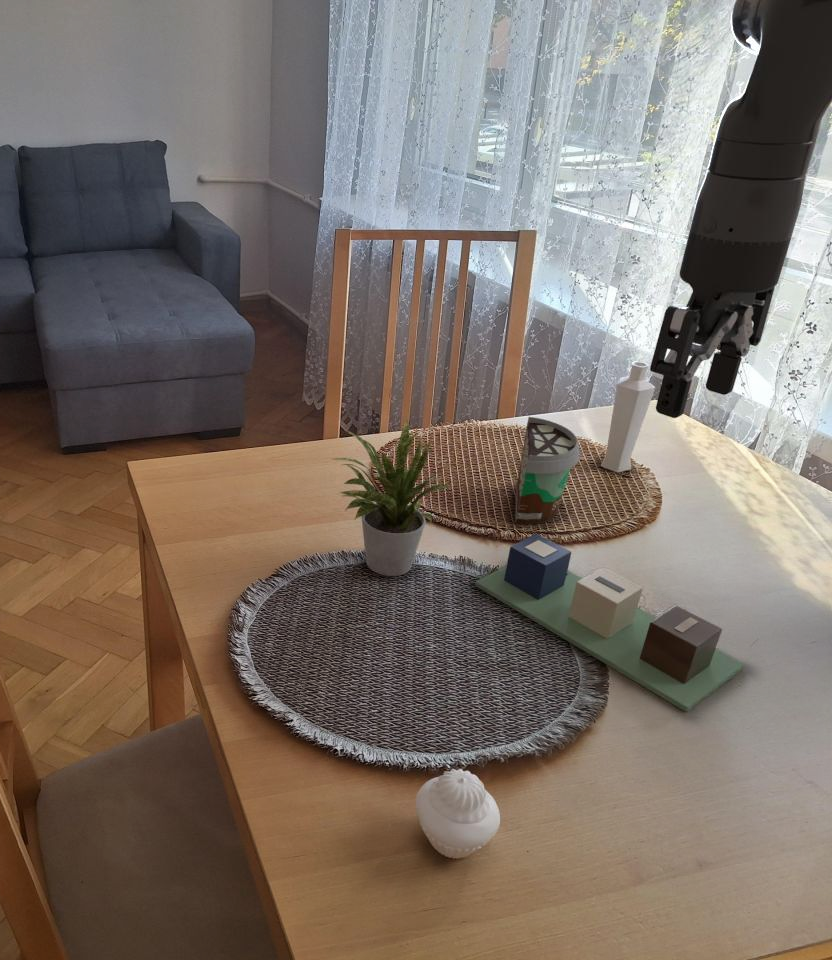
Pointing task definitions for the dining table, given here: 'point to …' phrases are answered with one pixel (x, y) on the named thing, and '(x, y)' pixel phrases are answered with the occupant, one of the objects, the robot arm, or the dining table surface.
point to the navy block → (537, 566)
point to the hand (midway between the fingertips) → (693, 402)
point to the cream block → (605, 602)
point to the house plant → (391, 507)
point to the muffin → (457, 813)
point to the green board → (611, 641)
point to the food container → (544, 470)
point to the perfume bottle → (627, 417)
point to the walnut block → (680, 644)
